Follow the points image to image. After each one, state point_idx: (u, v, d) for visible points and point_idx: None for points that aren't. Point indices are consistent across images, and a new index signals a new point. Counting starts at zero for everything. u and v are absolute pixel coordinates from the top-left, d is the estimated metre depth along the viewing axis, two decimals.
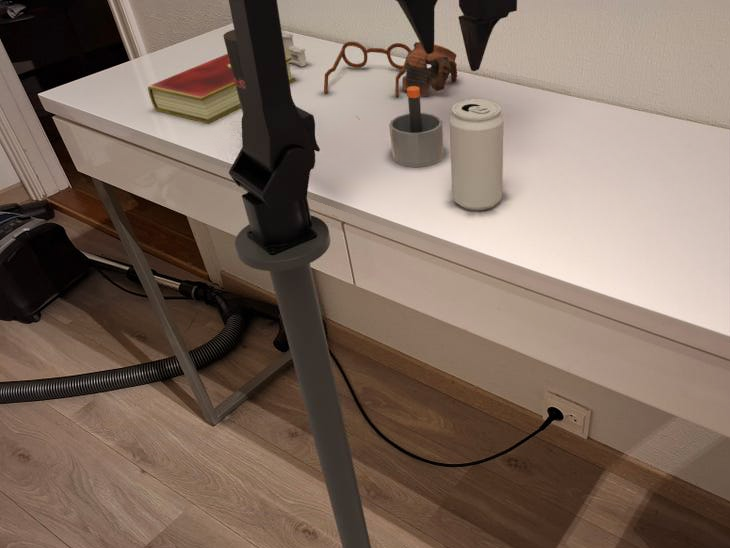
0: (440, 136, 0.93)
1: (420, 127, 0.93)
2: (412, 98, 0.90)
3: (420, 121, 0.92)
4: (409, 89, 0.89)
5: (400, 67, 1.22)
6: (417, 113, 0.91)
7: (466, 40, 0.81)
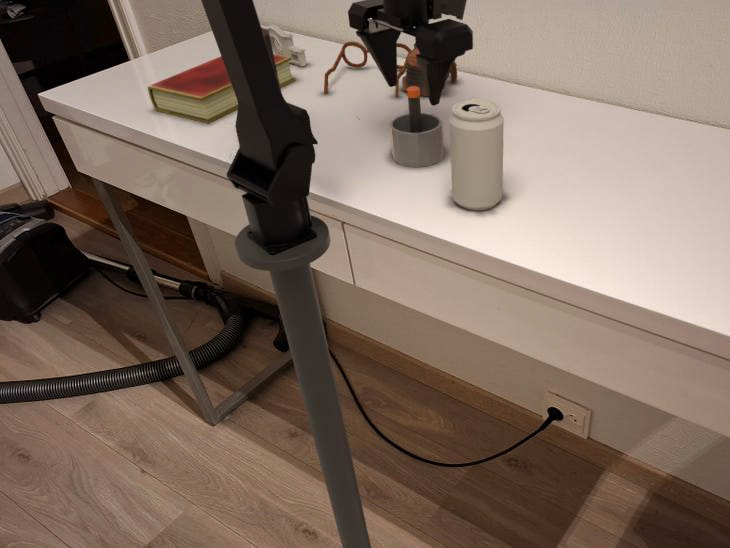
0: (440, 136, 0.93)
1: (420, 127, 0.93)
2: (412, 98, 0.90)
3: (420, 121, 0.92)
4: (409, 89, 0.89)
5: (400, 67, 1.22)
6: (417, 113, 0.91)
7: (424, 77, 0.83)
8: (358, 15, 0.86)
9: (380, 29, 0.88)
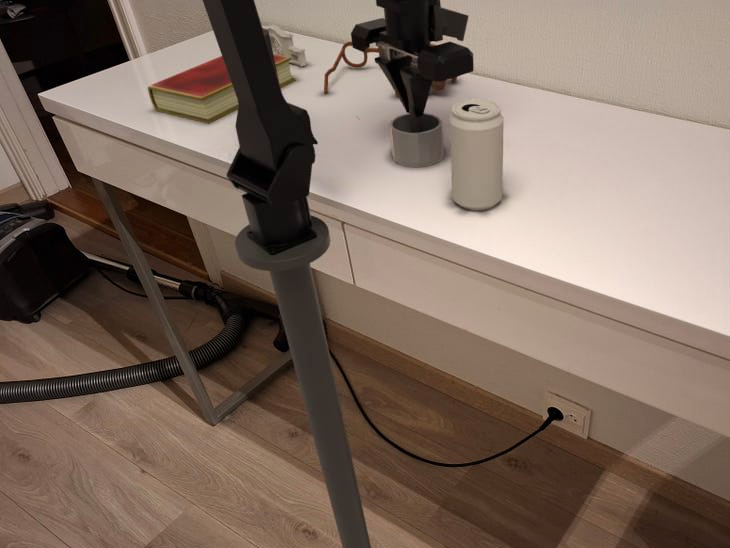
0: (440, 136, 0.93)
1: (420, 127, 0.93)
2: None
3: (420, 121, 0.92)
4: None
5: None
6: None
7: (408, 90, 0.87)
8: (361, 37, 0.88)
9: (399, 56, 0.88)
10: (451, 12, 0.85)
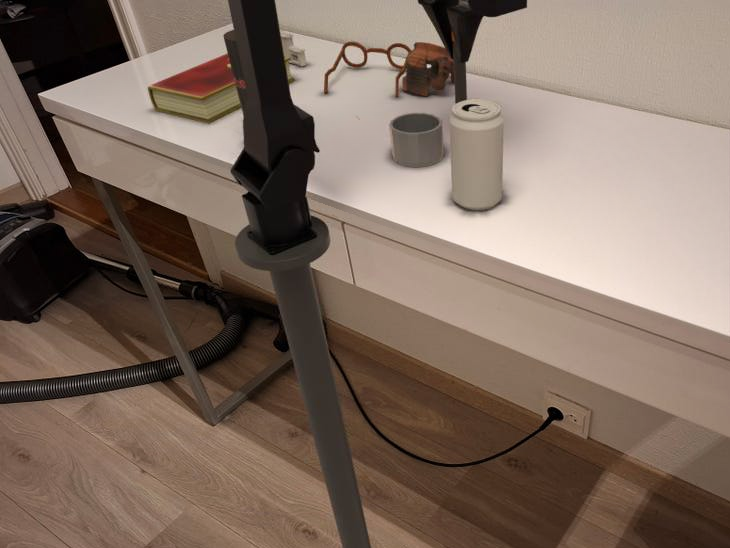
0: (440, 136, 0.93)
1: (464, 74, 0.87)
2: None
3: (465, 68, 0.87)
4: None
5: (400, 67, 1.22)
6: None
7: (455, 32, 0.82)
8: None
9: None
10: None
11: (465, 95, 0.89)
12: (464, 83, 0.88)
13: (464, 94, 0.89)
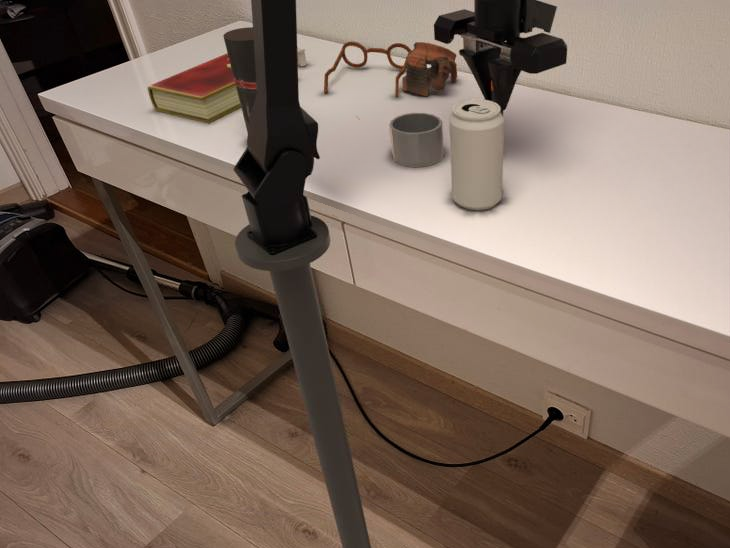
0: (440, 136, 0.93)
1: None
2: None
3: (502, 115, 0.90)
4: None
5: (400, 67, 1.22)
6: None
7: (495, 83, 0.85)
8: (446, 28, 0.85)
9: (484, 48, 0.85)
10: (541, 3, 0.82)
11: None
12: None
13: None
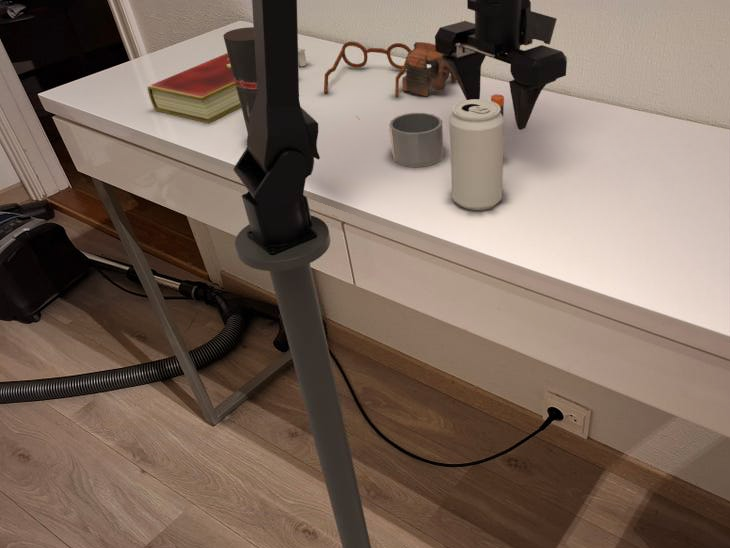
0: (440, 136, 0.93)
1: None
2: None
3: None
4: (493, 97, 0.88)
5: (400, 67, 1.22)
6: None
7: (515, 102, 0.84)
8: (447, 40, 0.86)
9: (466, 53, 0.88)
10: (541, 15, 0.83)
11: None
12: None
13: None
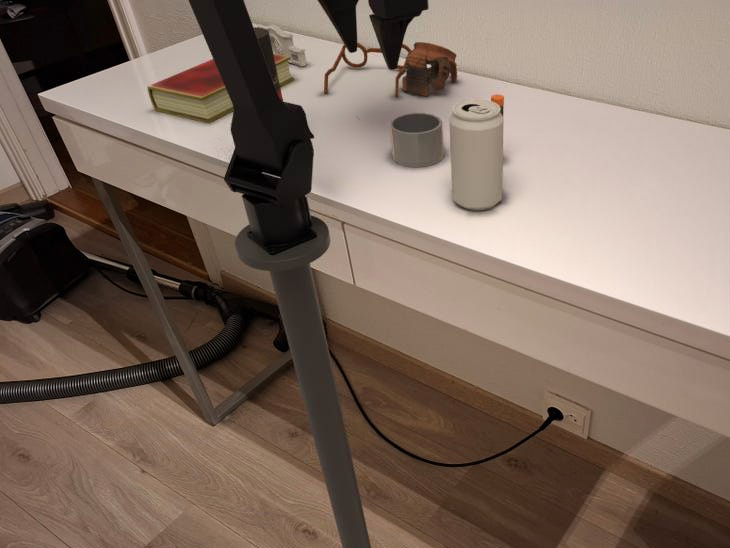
0: (440, 136, 0.93)
1: None
2: None
3: None
4: (493, 97, 0.88)
5: (400, 67, 1.22)
6: None
7: (379, 39, 0.81)
8: None
9: None
10: None
11: None
12: None
13: None
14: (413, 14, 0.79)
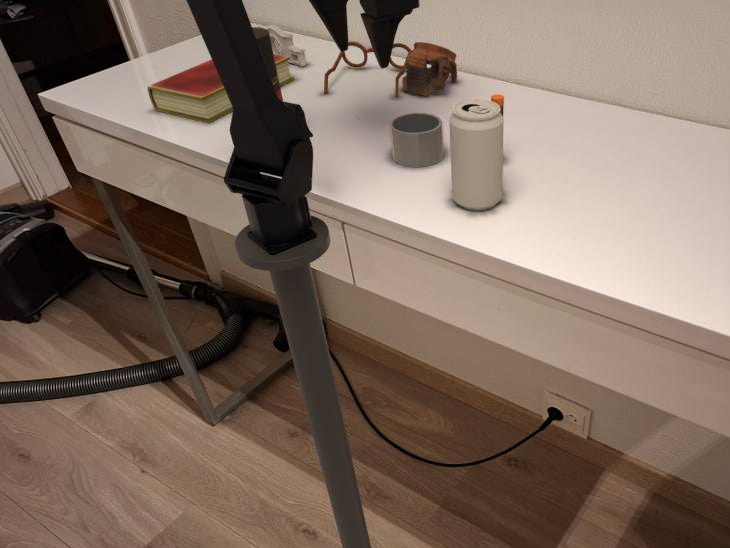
0: (440, 136, 0.93)
1: None
2: None
3: None
4: (493, 97, 0.88)
5: (400, 67, 1.22)
6: None
7: (371, 37, 0.81)
8: None
9: None
10: None
11: None
12: None
13: None
14: (404, 12, 0.80)
